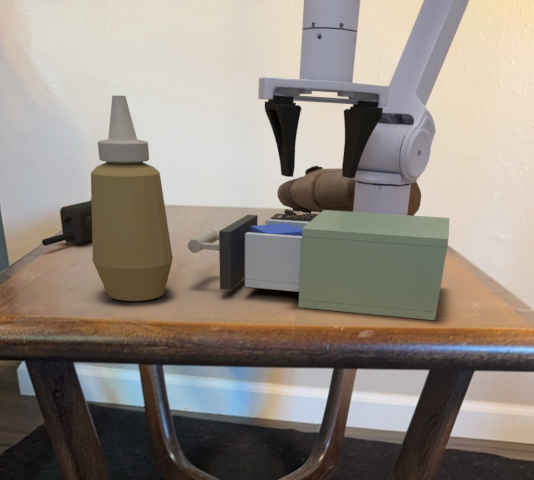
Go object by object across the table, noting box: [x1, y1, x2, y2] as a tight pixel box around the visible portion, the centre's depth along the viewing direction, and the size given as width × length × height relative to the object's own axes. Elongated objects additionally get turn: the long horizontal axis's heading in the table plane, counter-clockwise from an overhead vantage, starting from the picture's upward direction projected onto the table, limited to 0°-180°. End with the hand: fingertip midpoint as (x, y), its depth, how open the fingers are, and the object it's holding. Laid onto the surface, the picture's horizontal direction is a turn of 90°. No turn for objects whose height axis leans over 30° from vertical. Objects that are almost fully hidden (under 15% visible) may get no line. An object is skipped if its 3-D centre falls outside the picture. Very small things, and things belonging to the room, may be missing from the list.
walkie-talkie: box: [41, 200, 92, 247], centre depth 86 cm, size 5×3×15 cm
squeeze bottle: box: [90, 95, 174, 302], centre depth 61 cm, size 8×8×18 cm
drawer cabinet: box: [298, 210, 450, 321], centre depth 65 cm, size 14×12×8 cm
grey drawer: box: [187, 214, 309, 293], centre depth 67 cm, size 17×10×6 cm, turn 76°
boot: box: [277, 165, 422, 216], centre depth 106 cm, size 8×24×17 cm
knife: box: [284, 208, 298, 215], centre depth 104 cm, size 15×1×2 cm
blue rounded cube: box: [251, 224, 302, 236], centre depth 67 cm, size 4×4×4 cm
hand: (318, 176), depth 72 cm, fingers open, 7 cm apart
